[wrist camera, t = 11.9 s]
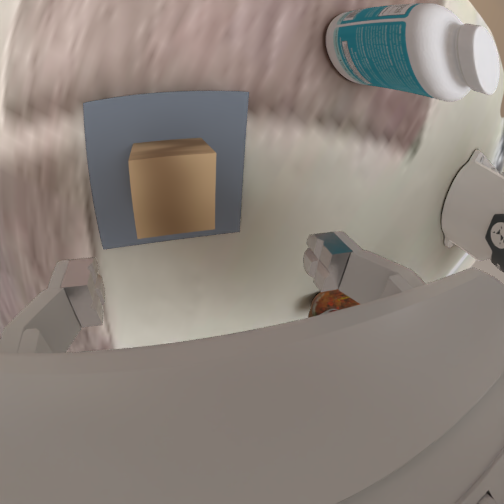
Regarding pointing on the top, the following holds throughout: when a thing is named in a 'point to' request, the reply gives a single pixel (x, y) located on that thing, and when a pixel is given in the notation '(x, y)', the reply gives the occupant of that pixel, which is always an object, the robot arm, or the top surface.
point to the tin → (330, 302)
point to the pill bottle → (414, 51)
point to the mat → (157, 129)
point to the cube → (172, 186)
